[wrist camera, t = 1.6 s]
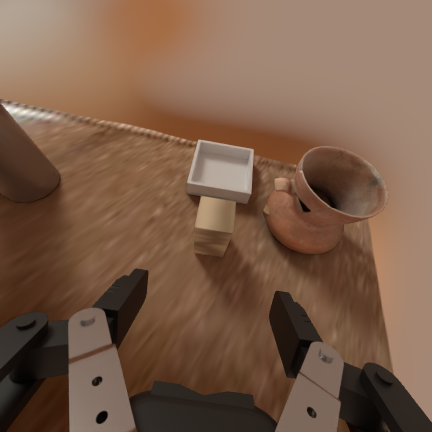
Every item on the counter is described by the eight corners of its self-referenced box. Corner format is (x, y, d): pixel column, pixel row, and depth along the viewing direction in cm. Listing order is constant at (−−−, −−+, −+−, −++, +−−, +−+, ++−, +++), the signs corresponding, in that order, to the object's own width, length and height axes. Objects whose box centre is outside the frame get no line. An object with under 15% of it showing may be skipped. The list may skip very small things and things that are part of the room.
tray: (187, 193, 40) (187, 182, 37) (198, 151, 46) (198, 139, 43) (246, 203, 40) (251, 193, 37) (249, 161, 46) (253, 149, 43)
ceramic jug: (253, 252, 35) (288, 213, 23) (254, 187, 42) (281, 131, 30) (349, 266, 36) (432, 235, 24) (334, 200, 43) (392, 151, 31)
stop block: (194, 252, 34) (194, 227, 26) (199, 227, 37) (201, 195, 28) (222, 257, 34) (232, 233, 26) (225, 231, 37) (236, 201, 28)
